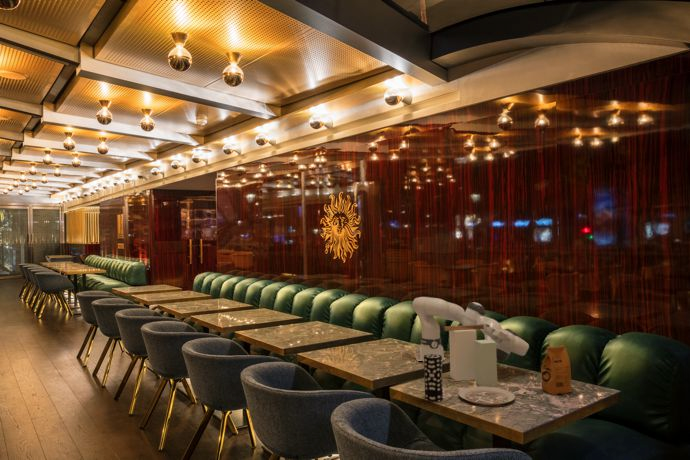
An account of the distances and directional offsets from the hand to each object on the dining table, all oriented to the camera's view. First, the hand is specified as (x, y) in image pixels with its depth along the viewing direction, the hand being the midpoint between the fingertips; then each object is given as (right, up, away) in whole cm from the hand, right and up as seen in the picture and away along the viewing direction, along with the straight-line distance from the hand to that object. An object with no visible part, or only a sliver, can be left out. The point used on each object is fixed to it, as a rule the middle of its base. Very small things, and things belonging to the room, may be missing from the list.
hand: (481, 325), depth 269 cm
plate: (-8, -27, -37) cm, 47 cm away
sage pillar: (-2, -27, -15) cm, 31 cm away
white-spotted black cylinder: (-33, -28, -36) cm, 56 cm away
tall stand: (-10, -28, -3) cm, 30 cm away
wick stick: (-9, -2, -2) cm, 9 cm away
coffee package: (+28, -26, -29) cm, 48 cm away
